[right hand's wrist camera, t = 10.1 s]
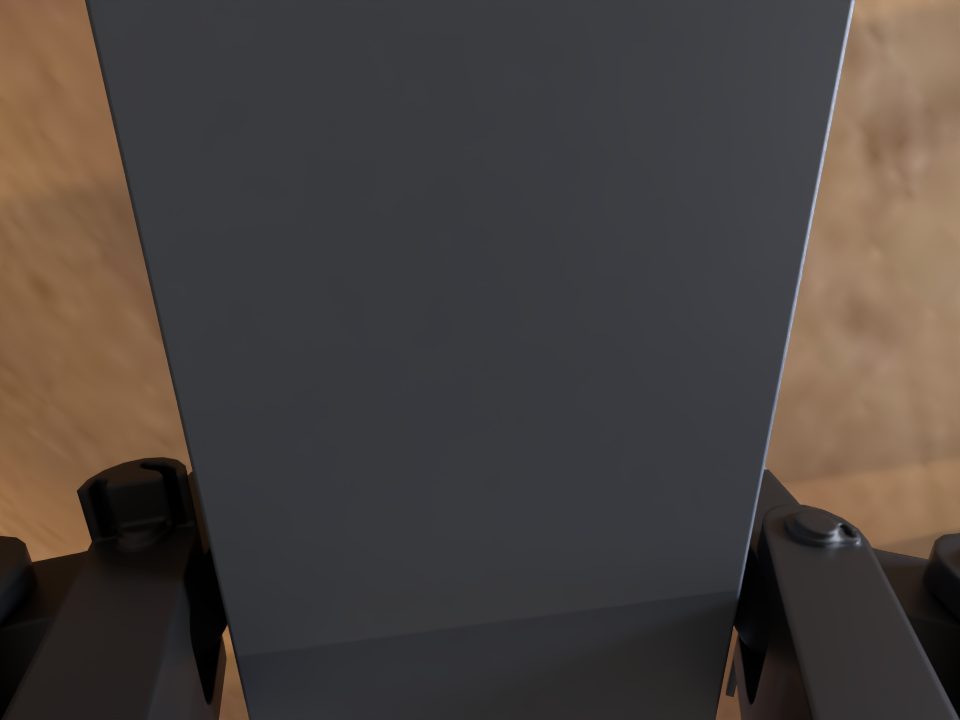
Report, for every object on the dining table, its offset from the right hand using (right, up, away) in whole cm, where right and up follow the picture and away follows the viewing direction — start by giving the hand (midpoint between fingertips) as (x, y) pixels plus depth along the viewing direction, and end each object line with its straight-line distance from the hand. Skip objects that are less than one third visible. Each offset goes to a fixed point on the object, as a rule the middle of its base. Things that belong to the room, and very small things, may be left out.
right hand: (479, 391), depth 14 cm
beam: (0, +32, -11) cm, 34 cm away
